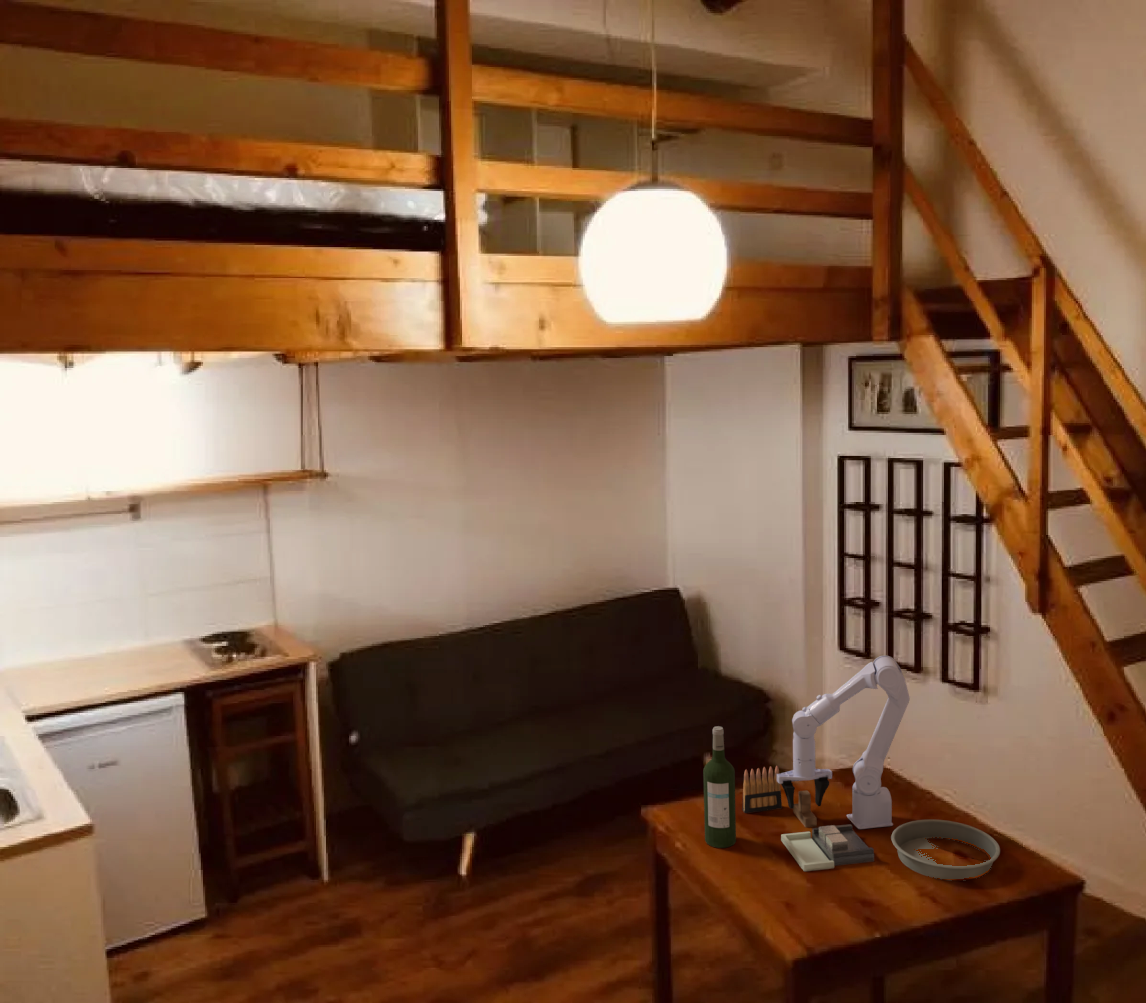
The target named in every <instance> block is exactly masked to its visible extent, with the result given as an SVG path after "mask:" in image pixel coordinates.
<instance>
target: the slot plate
mask: <svg viewBox="0 0 1146 1003" xmlns="http://www.w3.org/2000/svg"><path fill="white" fill-rule="evenodd" d="M834 826H835V827H836V828H837V829H838V830H839V831H840V834H842V835H843V836H844V837H845V838H846V839H847V841H848V850H843V851H834V852H831V850H830V849H829V848H828V847H827V846H826V844H825V843H824V842H823V841H822V840H821V838H820V837H819V827H811V838H812V840H813V841H814V842H815V843H816V845H817V846H818V847H819V848H820V849H821V851H822V852H823V853H824V854H825V856H826V857H827V858H828V859H829V861H830V860H833V861H834V867H835V866H844V865H846V866H847V865H854V864H862V863H871V862H872V863H873V862H875V849H874V848H873V847H871V846H870V847H869V846H868V845H867V844H866V843H865V842H864V841H863V839H862V838H860V836H859V835H858V834H857V833H856V832H855V830H854V829H853V825H852V824H851V823H850V824H841V825H834Z"/></svg>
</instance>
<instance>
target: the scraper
mask: <svg viewBox="0 0 1146 1003" xmlns="http://www.w3.org/2000/svg"><path fill="white" fill-rule="evenodd" d="M811 798H812V796H811V793H810V792H809V791H808V790H800V791H799V790H798V802H797V803H794V809H792V812H793V814H794V815H795V817H796V818H797V819H798V821H800V823H801V824H802V825H803V826H804V828H815V827H818V826H817V822H818V820H817V817H816V815H815V814H814V813H813V812H812V810H811V809H812V808H811V807H812V806H811V805H812V799H811Z"/></svg>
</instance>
